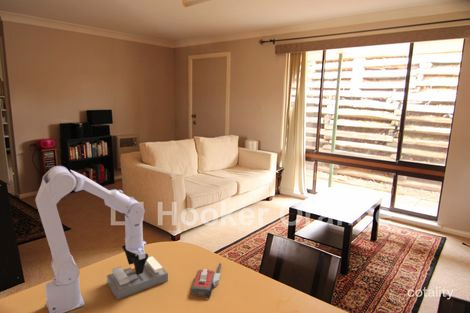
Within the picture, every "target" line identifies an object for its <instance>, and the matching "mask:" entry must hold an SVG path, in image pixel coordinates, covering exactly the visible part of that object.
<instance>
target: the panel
mask: <svg viewBox="0 0 470 313" xmlns="http://www.w3.org/2000/svg"><path fill="white" fill-rule="evenodd" d="M123 271H124V272H125V274H126V275H127V276H128V278H129V282H128V283H125V284H122V285H120V284H119V283H118V281H117V279H116V278H115V276H114V275H113V273H112V272H111V273H110V274H107V275H106V283H107V285H108V287H109V288H110V290H111V291H112V293H113V295H114V297H115V299H116V300H117V301H118V300H120V299H123V298H126V297H128V296H132V295H134V294H137V293H139V292H141V291H144V290H147V289H149V288H152V287H154V286H155V287H156V286H157V285H161V284H163V283H166V282H168V281H169V273H168V271H166V270H165V269H164V268H163V270H162V271H159V272H156V273H154V272H153V270H152V269H151V268H150V267H149V266H148V265H147V263H146V262H145V265H144V269H143V273H141V274H138V275H137V274H136V272H135V273H132V272H131V267H128V268H125V269H123Z"/></svg>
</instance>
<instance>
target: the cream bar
mask: <svg viewBox="0 0 470 313" xmlns="http://www.w3.org/2000/svg"><path fill="white" fill-rule="evenodd" d="M145 263H147V265H148V266H149V267H150V268H151V269H152V270H153V272H154V273H156V272H159V271H162V270H163V269H164V267H163V266H162V264H160V262H158V261H157V259H156V258H155V257H154V256H148V259H147V260H146V262H145Z"/></svg>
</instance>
